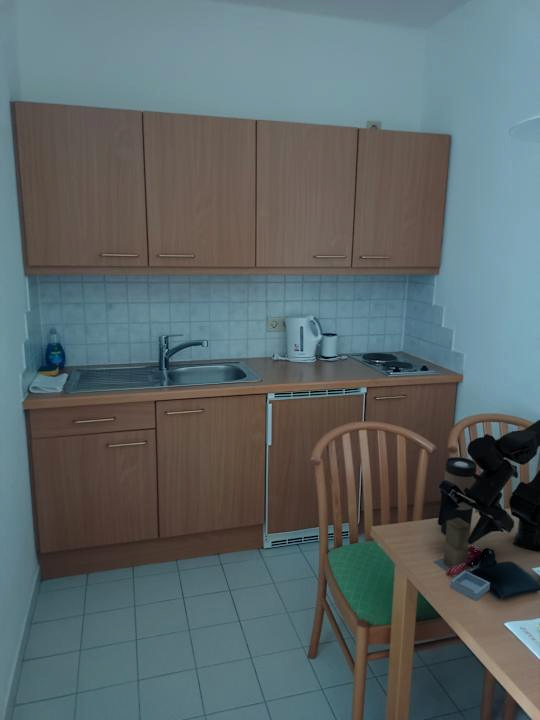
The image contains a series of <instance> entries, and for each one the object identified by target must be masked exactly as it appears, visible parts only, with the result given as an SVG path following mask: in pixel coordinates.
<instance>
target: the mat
mask: <svg viewBox="0 0 540 720" xmlns="http://www.w3.org/2000/svg"><path fill="white" fill-rule="evenodd" d="M432 562H433V563H434V564H435V565H437V566H438V567H440V568H441V569H442V570H444V571H445V572H447V573H448V570H449V569H450V568H449V567H448V566H446V565H445V564H443V563H444V557H443V558H439V559H437V560H433V561H432ZM465 571H467V572H469V573H471V572H470V570H469V569H466V570H465ZM462 572H463V571H462ZM462 572H461V573H462ZM458 575H459V574H458ZM458 575H451V576H452V577H453V578H455V577H456V576H458Z"/></svg>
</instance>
